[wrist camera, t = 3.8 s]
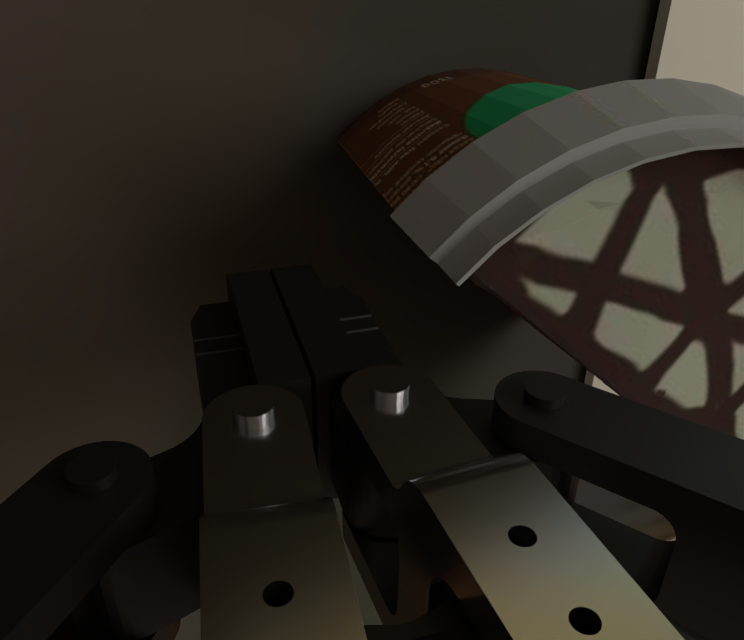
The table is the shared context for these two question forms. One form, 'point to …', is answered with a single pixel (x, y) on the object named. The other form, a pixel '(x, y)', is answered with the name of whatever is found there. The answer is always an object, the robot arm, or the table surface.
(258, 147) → the table surface
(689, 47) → the mat
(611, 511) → the table surface
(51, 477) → the robot arm
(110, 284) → the table surface
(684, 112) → the food container
